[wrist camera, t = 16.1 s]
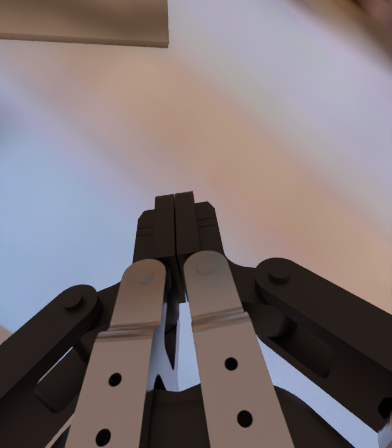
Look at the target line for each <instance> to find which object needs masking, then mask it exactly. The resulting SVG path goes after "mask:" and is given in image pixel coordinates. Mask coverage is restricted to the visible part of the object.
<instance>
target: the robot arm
mask: <svg viewBox="0 0 392 448" xmlns="http://www.w3.org/2000/svg"><path fill="white" fill-rule="evenodd" d="M185 292H186V295H185ZM186 296H187V301H188V302H189V307H190V313H191V319H192V322H191V324H192V332H193V338H194V344H195V351H196V357H197V363H198V370H199V376H200V382H201V383H200V384H198V385H195V386H193V387H191V388H188V389H186V390H183V391H180V392H179V387H178V354H179V334H180V321H179V303H186ZM256 335H257V336H258V338H259V339H260V340H261V341H262V342H263V343H264V344H265V345H267V346H268V347H269V348H271V349H272V350H273V351H274V352H276V353H277V354H278V355H279V356H281V357H282V358H283V359H284V360H286V361H287V362H288V363H290V364H291V365H292V366H293V367H295V368H296V369H297V370H298V371H300V372H301V373H302V374H303V375H305V376H306V377H307V378H308V379H310V380H311V381H312V382H314V383H315V384H316V385H317V386H319V387H320V388H321V389H322V390H324V391H325V392H326V393H327V394H329V395H330V396H331V397H332V398H334V399H335V400H336V401H338V402H339V403H340V404H341V405H343V406H344V407H345V408H346V409H348V410H349V411H350V412H351V413H353V414H354V415H355V416H357V417H358V418H359V419H360V420H362V421H363V422H364V423H365V424H367V425H368V426H369V427H370V428H372V429H373V430H374V431H375V432H377V433H378V444H379V448H392V315H391V314H389V313H387V312H385V311H384V310H382V309H380V308H378V307H376V306H374V305H372V304H371V303H369V302H367V301H365V300H363V299H361V298H359V297H358V296H356V295H354V294H352V293H350V292H348V291H347V290H345V289H343V288H341V287H339V286H337V285H335V284H334V283H332V282H330V281H328V280H326V279H324V278H322V277H321V276H319V275H317V274H315V273H313V272H311V271H309V270H308V269H306V268H304V267H302V266H300V265H298V264H296V263H295V262H293V261H291V260H288V259H285V258H269V259H266V260H264V261H262V262H261V263H259V265H258V266H257V267H256V268H251V267H244V266H239V265H237V264H234V263H233V262H231V261H230V260H229V259H228V258H227V257H226V256H225V254H224V250H223V246H222V241H221V236H220V232H219V227H218V222H217V218H216V213H215V208H214V207H213V206H212V205H211V204H210V203H209V202H208V201H207V202H200V203H195V201H194V195H193V191H190V192H183V193H176V194H175V196H174V194H170V195H163V196H156V197H155V209H153V210H147V211H144V212H143V213H142V215H141V216H140V218H139V219H138V225H137V232H136V240H135V248H134V255H133V263H132V265H130V266H129V267H128V268H127V269H126V270H125V272H124V274H123V276H122V280H121V281H120V282H119V283H117V284H115V285H113V286H111V287H108V288H106V289H103V290H101V291H98V292H97V291H96V290H95V289H94V288H93V287H92V286H90V285H83V284H82V285H76V286H73V287H70V288H68V289H66V290H65V291H63V292H62V293H60V294H59V295H58V296H57V297H56V298H55V299H53V300H52V301H51V302H50V303H49V304H48V305H46V306H45V307H44V308H43V309H42V310H41V311H39V312H38V313H37V314H36V315H35V316H34V317H32V318H31V319H30V320H29V321H28V322H27V323H25V324H24V325H23V326H22V327H21V328H20V329H18V330H17V331H16V332H15V333H14V334H13V335H11V336H10V337H9V338H8V339H7V340H6V341H4V342H3V343H2V344H1V345H0V448H45V447H46V445H47V444H48V443H49V442H50V441H51V440H52V438H53V437H54V436H55V435H56V434H57V432H58V431H59V430H60V429H61V428H62V427H63V425H64V424H65V423H66V422H67V421H68V419H69V418H70V417H71V416H72V415H73V413H74V412H75V413H74V417H73V420H72V423H71V425H70V426H69V427H68V428H67V429H66V430H65V431H64V432H63V433H62V434H61V435H60V437H59V438H58V439H57V440H56V441H55V443H54V444H53V445H52V446H51V448H355V447H354V446H353V445H352V444H350V443H349V442H348V441H347V440H346V439H345V438H344V437H343V436H342V435H340V434H339V433H338V432H337V431H336V430H335V429H334V428H333V427H332V426H331V425H329V424H328V423H327V422H326V421H325V420H324V419H323V418H322V417H321V416H320V415H318V414H317V413H316V412H315V411H314V410H313V409H312V408H311V407H310V406H308V405H307V404H306V403H305V402H304V401H302V400H301V399H300V398H298V397H297V396H295V395H294V394H292V393H290V392H288V391H286V390H285V389H282V388H280V387H277V386H274V385H273V383H272V381H271V378H270V375H269V372H268V369H267V366H266V363H265V360H264V357H263V354H262V351H261V348H260V345H259V343H258V340H257V337H256ZM71 347H73V348H72V349H71V350H70V351H69V352H68V353H67V354H66V355H65V356H64V357H63V358H62V359H61V360H60V361H59V362H58V364H57V365H56V366H55V367H54V368H53V369H52V370H51V371H50V372H49V373H48V374H47V375H46V376H45V377H44V378H43V379H42V380H41V381H40V382H39V383H38V381H39V380H40V379H41V377H42V376H43V375H45V374H46V373H47V371H49V370H50V368H52V366H53V365H54V364H55V363H56V362H57V361H58V360H59V359H60V358H61V357H62V356H63V355H64V354H65V353H66V352H67V351H68V350H69V349H70V348H71Z"/></svg>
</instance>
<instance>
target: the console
mask: <svg viewBox="0 0 392 448" xmlns="http://www.w3.org/2000/svg"><path fill="white" fill-rule="evenodd" d="M0 39H11V40H29V41H48V42H66V43H85V44H103V45H122V46H140V47H159V48H168V44H169V33H168V4H167V0H0Z"/></svg>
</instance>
